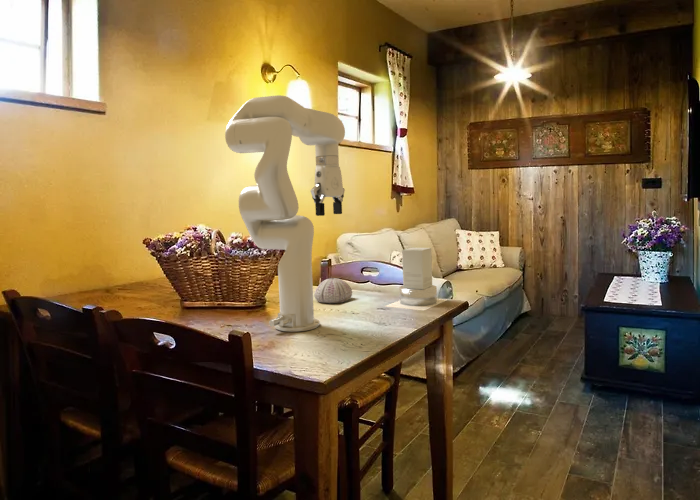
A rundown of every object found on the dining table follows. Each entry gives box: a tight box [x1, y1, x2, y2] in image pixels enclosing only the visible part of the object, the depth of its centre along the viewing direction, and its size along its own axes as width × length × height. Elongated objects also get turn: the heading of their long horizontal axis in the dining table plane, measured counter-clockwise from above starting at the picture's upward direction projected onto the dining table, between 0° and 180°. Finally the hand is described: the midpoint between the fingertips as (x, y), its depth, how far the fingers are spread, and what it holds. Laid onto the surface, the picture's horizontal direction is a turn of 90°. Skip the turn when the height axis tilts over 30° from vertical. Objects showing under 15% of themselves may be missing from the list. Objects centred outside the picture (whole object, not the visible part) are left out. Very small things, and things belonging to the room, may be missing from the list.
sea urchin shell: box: [313, 277, 353, 304], centre depth 186 cm, size 13×14×8 cm
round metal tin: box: [399, 284, 438, 306], centre depth 175 cm, size 12×12×5 cm
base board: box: [384, 298, 448, 311], centre depth 174 cm, size 18×14×1 cm
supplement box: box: [401, 247, 433, 289], centre depth 174 cm, size 7×7×13 cm
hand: (329, 214), depth 176 cm, fingers open, 9 cm apart
